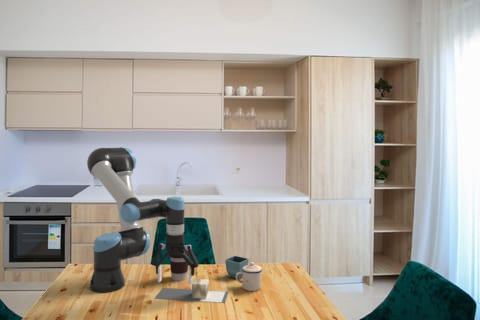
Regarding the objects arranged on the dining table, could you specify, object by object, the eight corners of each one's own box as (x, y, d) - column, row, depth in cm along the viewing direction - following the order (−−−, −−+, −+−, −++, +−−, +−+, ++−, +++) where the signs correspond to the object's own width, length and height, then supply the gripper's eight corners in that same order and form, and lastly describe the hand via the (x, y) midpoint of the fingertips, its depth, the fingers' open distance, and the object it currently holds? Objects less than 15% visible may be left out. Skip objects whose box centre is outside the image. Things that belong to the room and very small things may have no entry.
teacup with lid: (260, 283, 183) (260, 259, 182) (263, 291, 174) (263, 265, 173) (234, 284, 182) (235, 259, 181) (236, 291, 173) (236, 266, 172)
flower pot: (249, 276, 193) (249, 258, 192) (239, 281, 185) (239, 263, 185) (234, 272, 197) (234, 255, 197) (224, 277, 190) (224, 259, 189)
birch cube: (192, 283, 163) (206, 284, 162) (195, 278, 169) (208, 279, 168) (192, 297, 163) (206, 298, 163) (195, 292, 169) (208, 293, 168)
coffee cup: (187, 283, 181) (188, 252, 180) (166, 283, 181) (166, 251, 181) (190, 276, 191) (191, 246, 190) (170, 275, 191) (171, 245, 191)
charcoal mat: (153, 300, 162) (153, 298, 162) (162, 289, 174) (162, 287, 174) (224, 304, 159) (224, 303, 159) (228, 293, 171) (228, 291, 170)
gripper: (144, 234, 163) (144, 283, 164) (202, 236, 160) (201, 287, 161) (150, 230, 171) (150, 277, 172) (205, 232, 168) (205, 280, 169)
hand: (175, 282), depth 167 cm, fingers open, 13 cm apart
